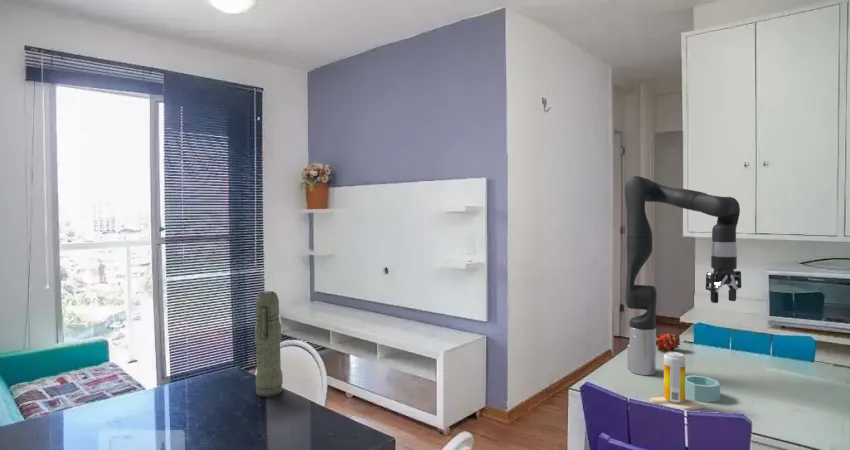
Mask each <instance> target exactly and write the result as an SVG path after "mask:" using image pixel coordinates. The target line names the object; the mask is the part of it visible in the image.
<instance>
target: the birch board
mask: <svg viewBox="0 0 850 450" xmlns="http://www.w3.org/2000/svg"><path fill="white" fill-rule="evenodd" d="M648 402H651V403H653V404H655V403H656V404H655V405H657V404H661V405H665V406H670V407H675V408H681V409H685V410H692V411H697V410H701V409H704V408H705V407H704V404H703V403H700V402H699V401H695V400H693V399H690V398H688V397H685V401H684V402H683V403H681V404H675V403H670V402H668V401H666V399H665V398H664V394H661V395H656V396H651V397H648Z"/></svg>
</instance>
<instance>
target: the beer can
mask: <svg viewBox="0 0 850 450" xmlns="http://www.w3.org/2000/svg"><path fill="white" fill-rule="evenodd" d="M685 376H686V357H685V356H684V354H683V353H682V352H677V351H670V352H669V351H666V352H665V353H664V355H663V395H664V398H665V399H666V401H668V402H670V403H675V404H681V403H683V402H684V401H685Z"/></svg>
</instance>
